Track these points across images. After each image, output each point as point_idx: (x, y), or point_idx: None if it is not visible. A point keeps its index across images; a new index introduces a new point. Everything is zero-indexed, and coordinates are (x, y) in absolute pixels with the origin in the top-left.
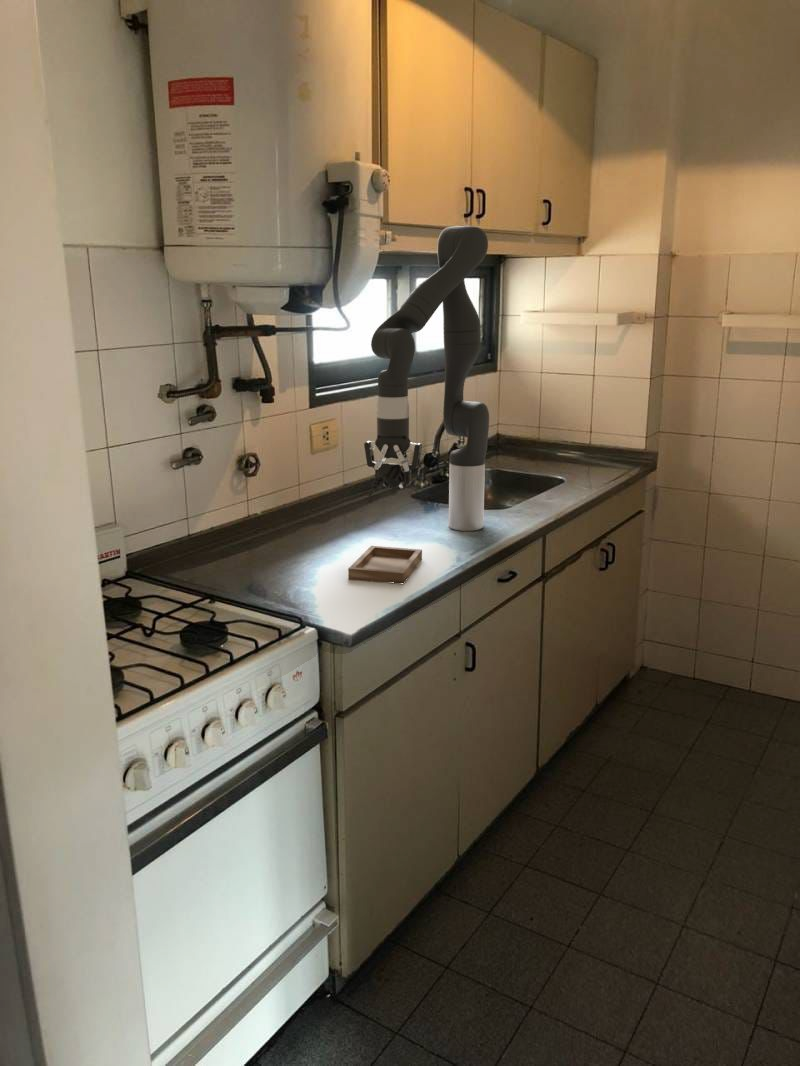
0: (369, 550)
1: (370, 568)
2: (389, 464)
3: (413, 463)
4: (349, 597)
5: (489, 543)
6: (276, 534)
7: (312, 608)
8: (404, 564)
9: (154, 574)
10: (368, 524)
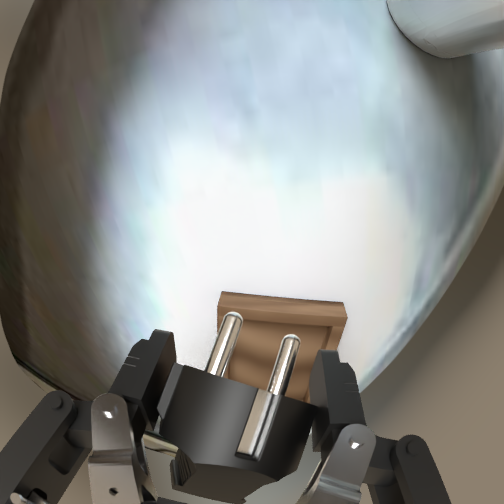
0: None
1: (246, 373)
2: (219, 498)
3: (379, 494)
4: None
5: (487, 165)
6: (6, 181)
7: None
8: (308, 352)
9: (22, 358)
10: (142, 23)
